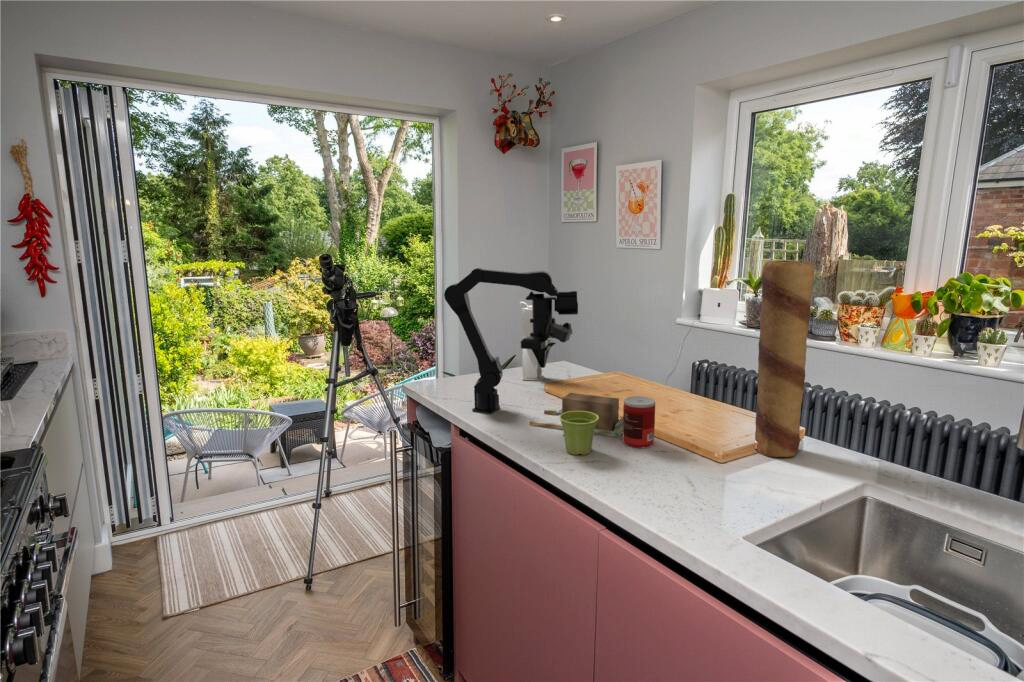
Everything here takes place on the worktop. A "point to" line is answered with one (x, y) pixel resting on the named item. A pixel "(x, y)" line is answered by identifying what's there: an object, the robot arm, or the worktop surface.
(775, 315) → the wafer roll
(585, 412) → the plant pot
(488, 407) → the robot arm
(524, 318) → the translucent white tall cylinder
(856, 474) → the worktop surface
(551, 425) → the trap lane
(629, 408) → the canned food
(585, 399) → the walnut block
